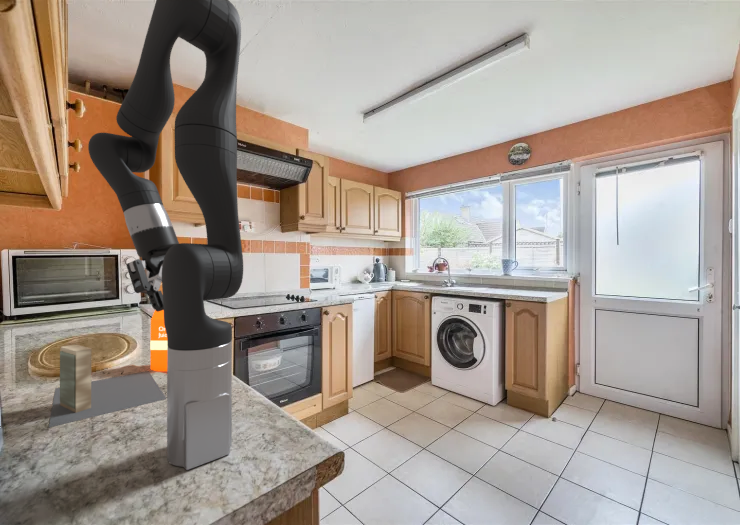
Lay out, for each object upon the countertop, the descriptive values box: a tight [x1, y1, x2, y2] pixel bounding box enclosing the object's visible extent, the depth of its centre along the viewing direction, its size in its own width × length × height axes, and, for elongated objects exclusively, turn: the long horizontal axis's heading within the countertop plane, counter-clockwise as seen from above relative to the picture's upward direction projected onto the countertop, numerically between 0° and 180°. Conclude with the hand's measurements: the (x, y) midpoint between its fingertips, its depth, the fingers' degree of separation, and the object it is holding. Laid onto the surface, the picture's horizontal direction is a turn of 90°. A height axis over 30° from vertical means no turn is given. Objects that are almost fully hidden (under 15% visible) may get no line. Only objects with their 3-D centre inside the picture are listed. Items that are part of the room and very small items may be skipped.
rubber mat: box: [48, 370, 167, 428], centre depth 72 cm, size 24×18×1 cm
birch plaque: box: [59, 344, 92, 413], centre depth 65 cm, size 3×7×12 cm, turn 62°
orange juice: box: [149, 310, 168, 372], centre depth 93 cm, size 8×9×20 cm
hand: (180, 304), depth 66 cm, fingers open, 8 cm apart
